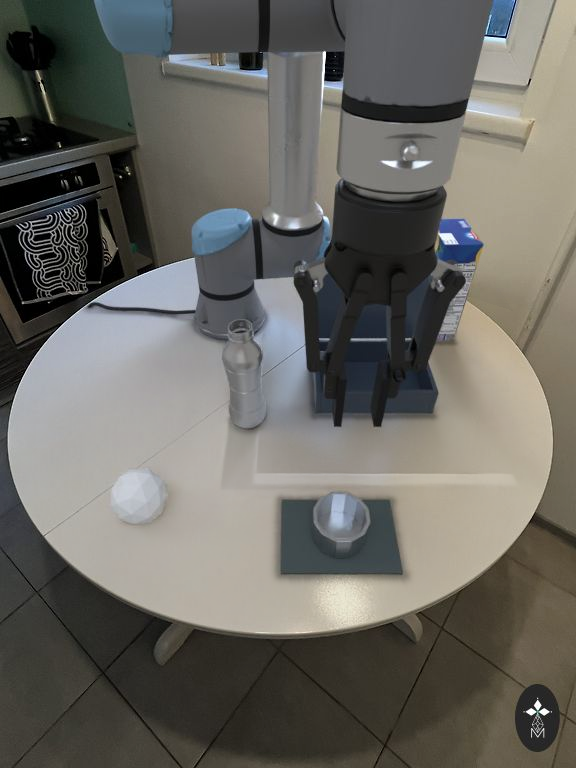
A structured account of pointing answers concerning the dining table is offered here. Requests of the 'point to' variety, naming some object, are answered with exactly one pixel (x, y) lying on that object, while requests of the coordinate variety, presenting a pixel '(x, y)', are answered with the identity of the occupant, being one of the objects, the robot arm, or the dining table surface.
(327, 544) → the grey hollow cylinder
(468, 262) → the blue cereal box
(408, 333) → the chest lid
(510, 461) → the dining table surface
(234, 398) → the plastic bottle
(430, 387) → the box
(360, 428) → the dining table surface
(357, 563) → the mat
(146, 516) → the geometric ball
